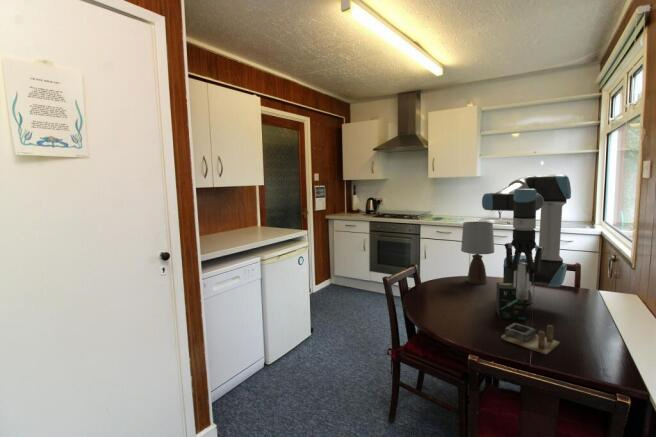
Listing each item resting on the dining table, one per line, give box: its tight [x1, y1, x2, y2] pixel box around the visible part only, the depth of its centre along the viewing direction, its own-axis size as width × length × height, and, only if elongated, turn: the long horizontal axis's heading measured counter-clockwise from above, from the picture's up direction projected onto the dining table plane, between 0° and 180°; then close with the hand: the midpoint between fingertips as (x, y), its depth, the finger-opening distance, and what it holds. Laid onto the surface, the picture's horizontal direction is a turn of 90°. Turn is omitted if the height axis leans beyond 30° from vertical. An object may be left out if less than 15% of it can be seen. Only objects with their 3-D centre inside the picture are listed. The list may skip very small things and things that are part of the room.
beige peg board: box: [500, 322, 560, 355], centre depth 127 cm, size 16×12×7 cm
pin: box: [516, 262, 529, 300], centre depth 128 cm, size 4×4×14 cm
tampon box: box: [495, 282, 527, 322], centre depth 150 cm, size 11×9×15 cm
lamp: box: [460, 221, 495, 285], centre depth 201 cm, size 19×19×37 cm
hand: (522, 287), depth 128 cm, fingers closed on pin, 4 cm apart
